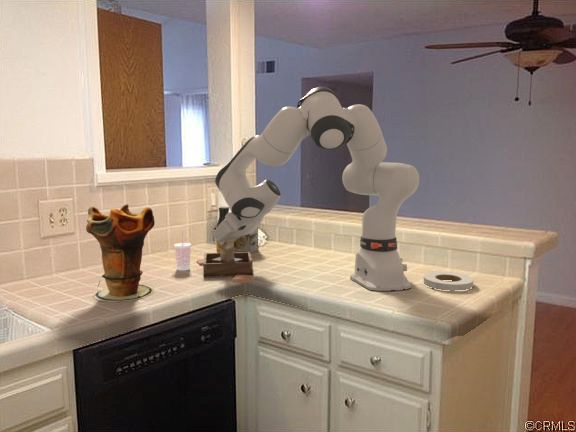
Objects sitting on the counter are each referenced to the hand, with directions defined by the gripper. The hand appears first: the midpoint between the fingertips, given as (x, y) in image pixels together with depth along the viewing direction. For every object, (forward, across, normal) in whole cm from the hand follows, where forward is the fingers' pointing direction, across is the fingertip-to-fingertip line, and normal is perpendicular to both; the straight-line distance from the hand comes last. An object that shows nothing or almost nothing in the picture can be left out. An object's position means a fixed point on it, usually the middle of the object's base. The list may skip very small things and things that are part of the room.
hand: (225, 242), depth 185 cm
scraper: (+5, 0, +6) cm, 7 cm away
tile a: (+17, -4, -2) cm, 18 cm away
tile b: (-2, +7, +17) cm, 19 cm away
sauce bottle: (+18, -17, -3) cm, 25 cm away
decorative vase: (+13, +39, +1) cm, 41 cm away
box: (+7, 0, +8) cm, 10 cm away
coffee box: (+17, -30, -2) cm, 34 cm away
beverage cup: (+17, +7, -3) cm, 19 cm away
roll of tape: (-44, -23, +59) cm, 77 cm away
